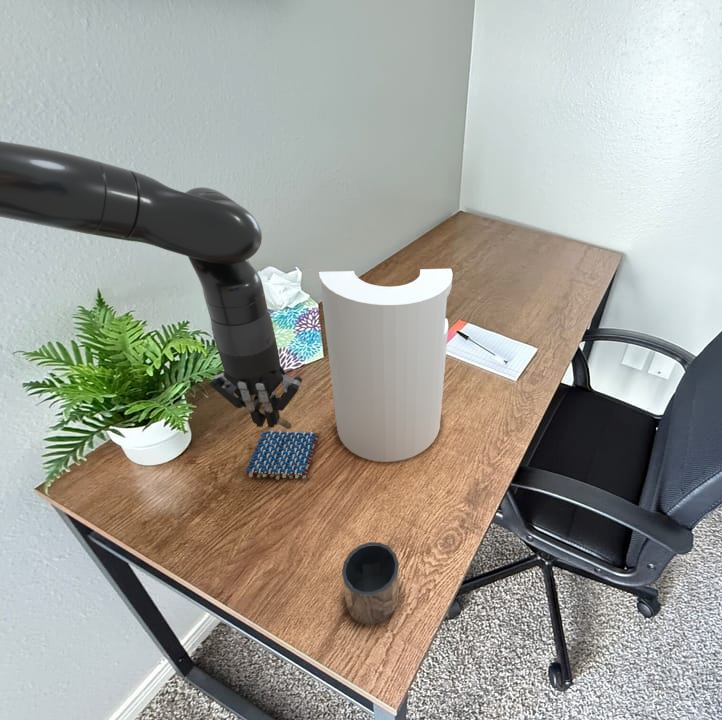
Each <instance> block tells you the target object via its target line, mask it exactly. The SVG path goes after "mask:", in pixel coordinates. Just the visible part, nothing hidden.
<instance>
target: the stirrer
mask: <svg viewBox="0 0 722 720" xmlns="http://www.w3.org/2000/svg"><path fill="white" fill-rule="evenodd" d="M259 412H260V413H262V414H263V415H265V409H264V405H263V406H261V407H260V408H259ZM277 425H279V426H281V427H283V428H284V429H287V430H290V429H291V428H292V423H291V422H289V420H287V419H285V418H284V417H282V416H280V417H279V420H278V422H277Z"/></svg>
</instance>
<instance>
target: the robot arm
mask: <svg viewBox="0 0 722 720" xmlns="http://www.w3.org/2000/svg"><path fill="white" fill-rule="evenodd" d="M0 218H3V219H9V220H14V221H19V222H25V223H29V224H34V225H40V226H44V227H48V228H49V227H50V228H54V229H58V230H59V229H60V230H65V231H71V232H76V233H81V234H86V235H92V236H98V237H103V238H110V239H116V240H122V241H126V242H135V243H142V244H147V245H151V246H154V247H157V248H160V249H163V250H165V251H169V252H171V253H175V254H179V255H182V256H185V257H187V258H188V260H189V262H190V264H191V266H192V268H193V270H194V272H195V274H196V276H197V278H198V280H199V282H200V285H201V289H202V293H203V297H204V301H205V305H206V307H207V311H208V314H209V317H210V325H211V326H210V327H211V331H212V335H213V337H212V338H213V340H214V341H215V345H216V349H217V352H218V356H219V358H220V361H221V366H222V368H223V371H217V372H216V373H215V375H214V376H213V378H212V379H211V381H210V383H209V385H210V387H211V388H212V389H213V390H215V391H216V392H217V393H219V394H220V395H221V396H222V398H224V399H226V400H227V402H229V403H230V404H231V405H232V406H234V407H235V408H236V409H241V408H246V409H247V411H248V412H249V414H250V418H251V421H252V423H253V424H256V427H258V428H263V427H264V424H265V422H266V424H267V427H268V428H272V429H273V428H275V426H277V425H278V423H277V422H278V420H279V417H281V416H280V415H281V414H280V411H284V410H285V409H286V407H287V406H288V405H289V404H290V402H291V401H292V399H293V398H294V397H295V396H296V394H297V393H298V391H299V389H300V387H301V385H302V382H303V379H302V378H301V377H300V376H295V377H293V378H292V376H288V375H287V374H286V371H285V369H284V368H283V367H282V365H281V359H280V354H279V348H278V343H277V339H276V334H275V329H274V324H273V320H272V316H271V314H270V312H269V309H268V303H267V299H266V294H265V290H264V286H263V281H262V279H261V277H260V274H259V273H258V271H257V270H256V269H255V268H254V266H253V265H252V264H251V262H250V261H249V259H251V258H252V257H253V256H255V255H256V254H257V252H258V251H259V249H260V247H261V245H262V240H263V239H262V238H263V237H262V235H263V234H262V230H261V227H260V225H259V223H258V221H257V220H256V217H254V215H253V214H252V213H251V212H249V210H247V209H246V208H245V207H243V206H242V205H241V204H239V203H238V202H236V201H235V200H233V199H231V198H230V197H229V196H227V195H225V194H224V193H223V192H220V191H218V190H216V189H213V188H210V187H194V188H190V189H189V190H187V191H181V190H178V189H175V188H172V187H169V186H167V185H166V184H164V183H162V182H160V181H159V180H157V179H154V178H153V177H150V176H149V175H145V174H143V173H140V172H137V171H134V170H130V169H127V168H124V167H119V166H116V165H113V164H109V163H105V162H103V161H98V160H95V159H91V158H87V157H85V156H80V155H75V154H71V153H67V152H63V151H58V150H54V149H48V148H44V147H37V146H32V145H27V144H20V143H14V142H8V141H2V140H0ZM281 384H282V385H283V386H282V389H283V392H282V394H281V395H280V396H279V397H278V396H277V395H278V394H277V388H278V387H279V386H280V385H281ZM261 406H264V409H265V415H263V414H262V413H260V412H259V408H260V407H261Z"/></svg>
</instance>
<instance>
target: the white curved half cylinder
mask: <svg viewBox="0 0 722 720" xmlns="http://www.w3.org/2000/svg"><path fill="white" fill-rule="evenodd" d="M453 275H454V274H453V270H452V268H423V269H422V268H421V269H419V275H418V277H417V278H416V279H415V280H413V281H411V282H409V283H405V284H402V285H394V286H384V285H377V284H373V283H368V282H366V281H363V280H362V279H361V278H359V277H358V276H357V275H356V273H355V271H354V270H339V271H337V270H336V271H335V270H333V271H318V276H319V277H318V278H319V285H320V295H321V302H322V310H323V319H324V320H323V321H324V328H325V337H326V345H327V346H326V347H327V355H328V362H329V371H330V380H331V389H332V397H333V399H332V400H333V406H334V413H335V414H334V416H335V423H336V424H335V425H336V432H337V435H338V437H339V440H340V441H341V443H342V444H343V446H344V447H345V448H346V449H348V451H350V452H351V453H352V454H355V455H356V456H358V457H360V458H363V459H366V460H369V461H373V462H382V463H384V462H385V463H389V462H391V463H393V462H399V461H405V460H407V459H410V458H413V457H415V456H417V455H419V454H421V453H423V452H424V451H425V450H426V449H428V448H429V447H431V445H432V444H433V443H434V442H435V440H436V438H437V437H438V434H439V432H440V429H441V417H442V405H443V395H444V382H445V372H446V371H445V370H446V357H447V345H448V334H449V320H448V318H446V316H447V305H448V304H447V303H448V297H449V295H450V293H451V290H452V285H453Z"/></svg>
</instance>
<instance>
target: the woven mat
mask: <svg viewBox="0 0 722 720" xmlns="http://www.w3.org/2000/svg"><path fill="white" fill-rule="evenodd" d="M259 436H260V437H261V438H259V440H257V444H256V446H255V447H254V450H255V451H254V452H253V453H251V457H252V458H251V459H250V460H248V464H249V465H248V466H247V467H246V468H245V471H246V475H248V477H249V478H252V477H253V476H255V475H256V478H258V479H260V478H261V477H262V478H267V476H268V475H269V478H274V477H275V480H276V481H279V480H280V478H282V479H286V477H288V478H289V479H290V480H291V479H293V478H294V479H299V478H300V476H302V477H301V479H302V480H306V479H307V476H308V472H309V470H310V469H311V468H312V466H311V463H312V462H313V459H312V458H313V457H314V456H313V455H314V453H315V450H316V449H317V446H316V445H317V442H318V440H319V439H318V438H319V435H317V433H316V432H313V431H310V432H306V431H304V432H301V430H300V431H289V430H288V431H277V430H275V431H273V430H267V431H263V432H262V433H260V435H259ZM275 475H276V476H275Z"/></svg>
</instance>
